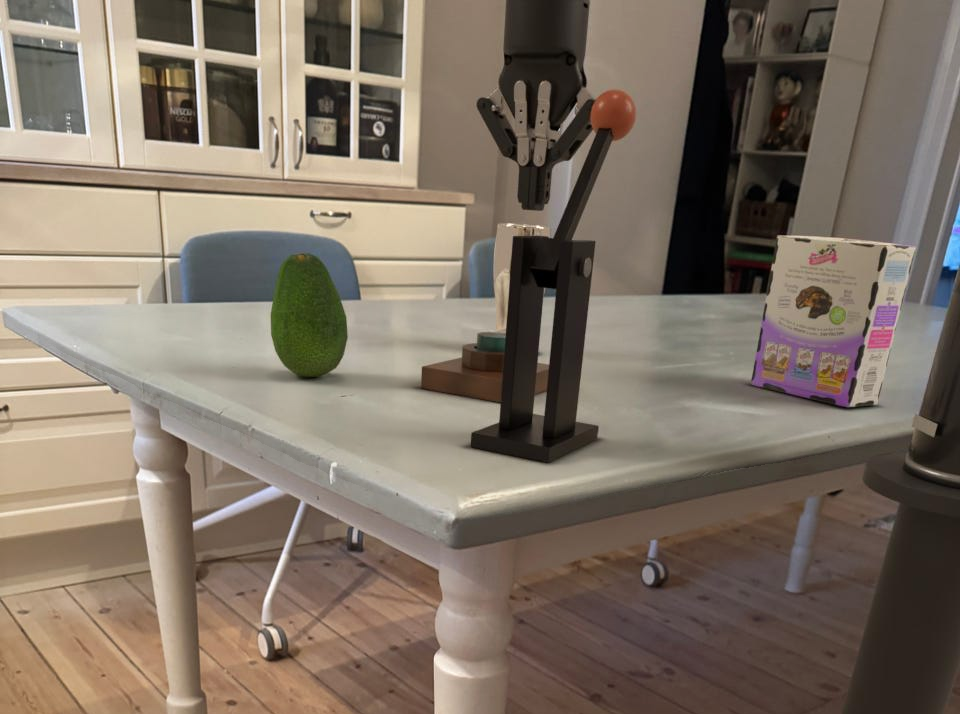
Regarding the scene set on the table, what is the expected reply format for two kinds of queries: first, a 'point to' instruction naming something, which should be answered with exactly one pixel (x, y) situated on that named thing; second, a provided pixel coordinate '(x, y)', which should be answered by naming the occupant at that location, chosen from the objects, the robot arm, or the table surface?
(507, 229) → the beer glass
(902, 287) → the candy box
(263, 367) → the table surface
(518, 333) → the bracket
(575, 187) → the lever
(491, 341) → the button
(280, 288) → the avocado
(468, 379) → the button block
